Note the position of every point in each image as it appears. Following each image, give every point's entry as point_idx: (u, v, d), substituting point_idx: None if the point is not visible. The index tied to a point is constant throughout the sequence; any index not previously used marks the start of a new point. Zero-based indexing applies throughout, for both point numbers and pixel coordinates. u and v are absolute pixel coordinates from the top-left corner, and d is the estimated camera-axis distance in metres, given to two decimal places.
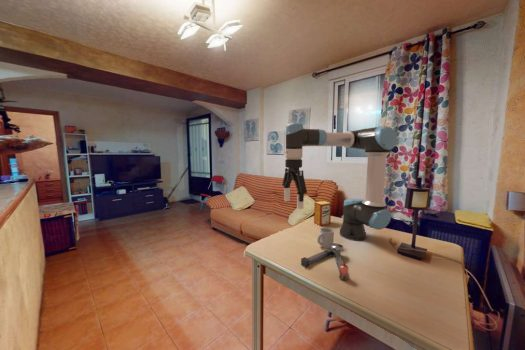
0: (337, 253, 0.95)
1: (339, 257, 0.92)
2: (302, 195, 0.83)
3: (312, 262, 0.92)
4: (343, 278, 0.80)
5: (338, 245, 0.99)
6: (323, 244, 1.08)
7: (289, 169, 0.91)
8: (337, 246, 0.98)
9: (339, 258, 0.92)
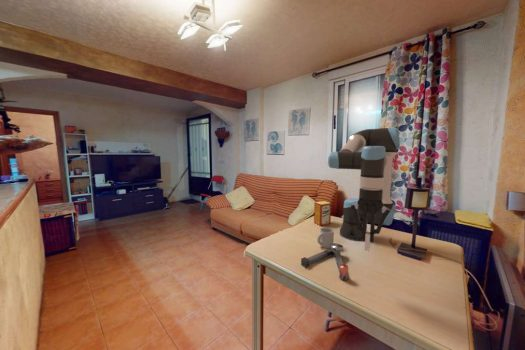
0: (337, 253, 0.95)
1: (339, 257, 0.92)
2: (362, 233, 0.75)
3: (312, 262, 0.92)
4: (343, 278, 0.80)
5: (338, 245, 0.99)
6: (323, 244, 1.08)
7: None
8: (337, 246, 0.98)
9: (339, 258, 0.92)
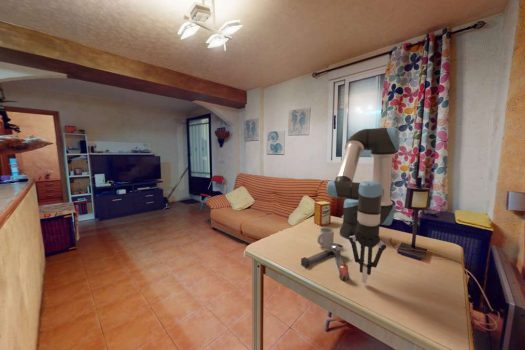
0: (337, 253, 0.95)
1: (339, 257, 0.92)
2: None
3: (312, 262, 0.92)
4: (343, 278, 0.80)
5: (338, 245, 0.99)
6: (323, 244, 1.08)
7: None
8: (337, 246, 0.98)
9: (339, 258, 0.92)
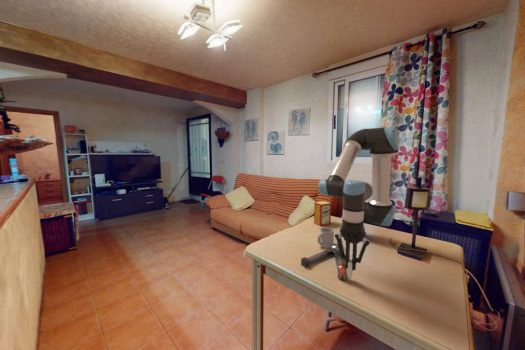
0: (337, 253, 0.95)
1: (338, 257, 0.92)
2: None
3: (312, 262, 0.92)
4: (341, 278, 0.80)
5: None
6: (323, 244, 1.08)
7: None
8: (337, 246, 0.98)
9: (338, 258, 0.92)
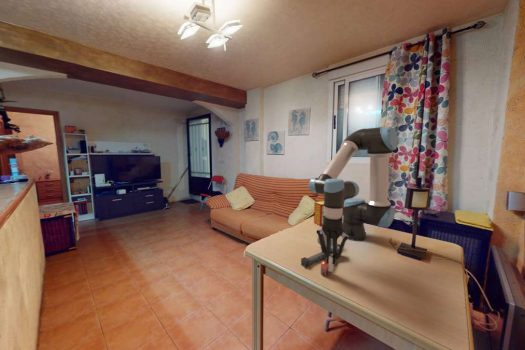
0: None
1: None
2: None
3: (312, 262, 0.92)
4: (322, 273, 0.83)
5: (339, 245, 0.98)
6: None
7: None
8: None
9: None
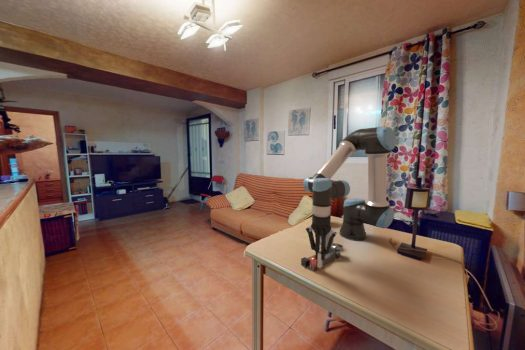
0: (331, 251, 0.96)
1: (329, 255, 0.95)
2: None
3: None
4: (311, 268, 0.87)
5: (339, 246, 0.98)
6: None
7: None
8: (336, 246, 0.98)
9: (328, 255, 0.94)
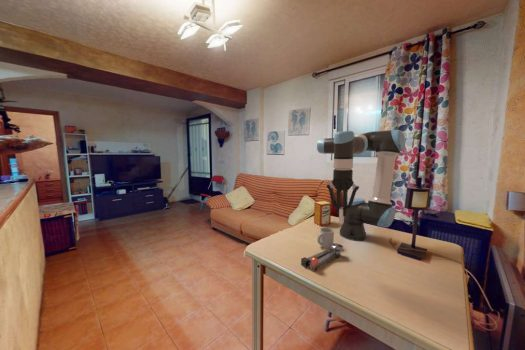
0: (331, 251, 0.96)
1: (329, 255, 0.94)
2: None
3: None
4: (311, 268, 0.87)
5: (339, 246, 0.98)
6: (323, 244, 1.08)
7: None
8: (336, 246, 0.98)
9: (328, 255, 0.94)
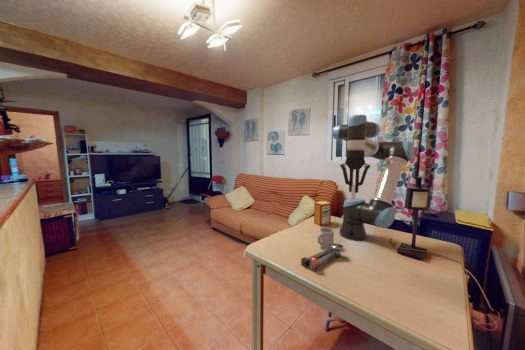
0: (331, 251, 0.96)
1: (329, 255, 0.94)
2: None
3: None
4: (311, 268, 0.87)
5: (339, 246, 0.98)
6: (323, 244, 1.08)
7: None
8: (336, 246, 0.98)
9: (328, 255, 0.94)
